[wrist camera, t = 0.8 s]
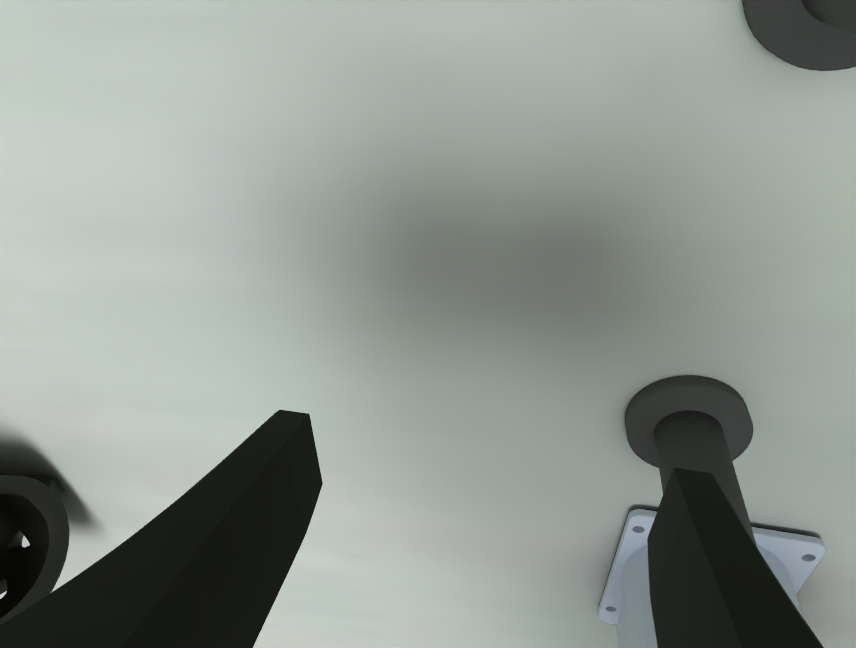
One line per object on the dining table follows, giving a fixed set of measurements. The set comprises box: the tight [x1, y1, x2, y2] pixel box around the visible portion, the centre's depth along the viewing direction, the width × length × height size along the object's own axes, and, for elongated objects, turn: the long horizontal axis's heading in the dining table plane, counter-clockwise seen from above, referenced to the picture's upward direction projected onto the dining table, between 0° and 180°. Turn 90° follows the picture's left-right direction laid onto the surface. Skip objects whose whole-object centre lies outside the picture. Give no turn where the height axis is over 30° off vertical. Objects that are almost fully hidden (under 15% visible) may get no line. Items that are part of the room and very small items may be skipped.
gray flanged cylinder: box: [625, 376, 757, 546], centre depth 19 cm, size 4×4×8 cm
